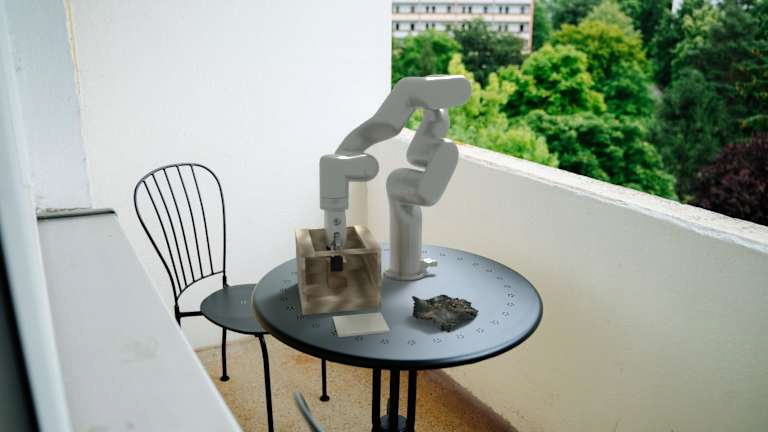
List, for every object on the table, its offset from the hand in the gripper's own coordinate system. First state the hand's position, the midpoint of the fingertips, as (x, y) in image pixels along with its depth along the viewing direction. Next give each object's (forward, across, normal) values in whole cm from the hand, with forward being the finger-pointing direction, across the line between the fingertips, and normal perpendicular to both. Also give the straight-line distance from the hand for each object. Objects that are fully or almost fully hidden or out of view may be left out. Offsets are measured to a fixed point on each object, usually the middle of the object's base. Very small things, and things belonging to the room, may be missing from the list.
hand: (334, 265), depth 154 cm
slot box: (+9, 0, -1) cm, 9 cm away
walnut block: (+6, 0, -1) cm, 6 cm away
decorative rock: (+9, -18, -26) cm, 32 cm away
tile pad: (+9, -20, -4) cm, 22 cm away
